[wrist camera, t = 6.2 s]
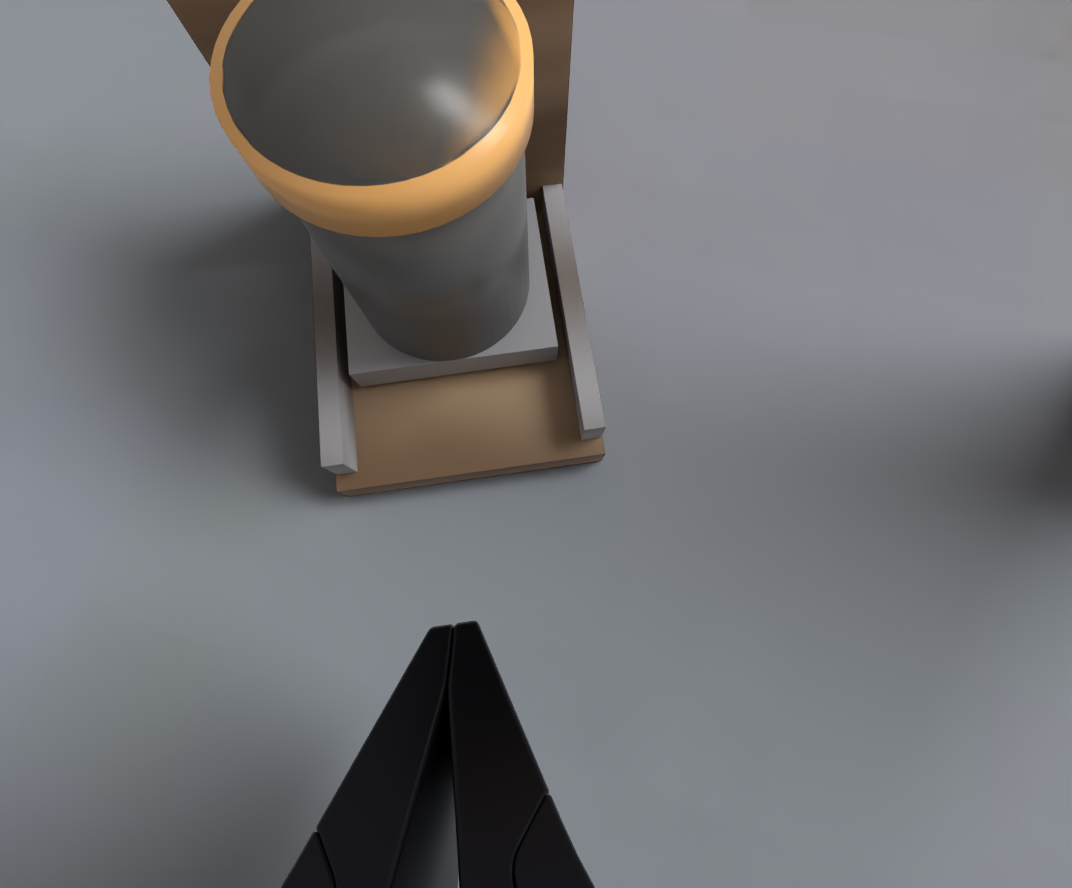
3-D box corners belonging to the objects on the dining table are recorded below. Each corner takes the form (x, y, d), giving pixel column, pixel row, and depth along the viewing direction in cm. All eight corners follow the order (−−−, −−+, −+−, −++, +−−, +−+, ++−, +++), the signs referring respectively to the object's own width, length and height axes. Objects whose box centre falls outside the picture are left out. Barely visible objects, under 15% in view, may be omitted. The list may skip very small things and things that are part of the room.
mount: (601, 460, 17) (669, 336, 8) (348, 496, 16) (131, 410, 8) (547, 157, 19) (554, -186, 11) (330, 184, 19) (154, -142, 10)
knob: (558, 365, 16) (574, 171, 8) (361, 392, 16) (189, 220, 8) (532, 213, 17) (527, -80, 10) (350, 236, 17) (192, -42, 9)
